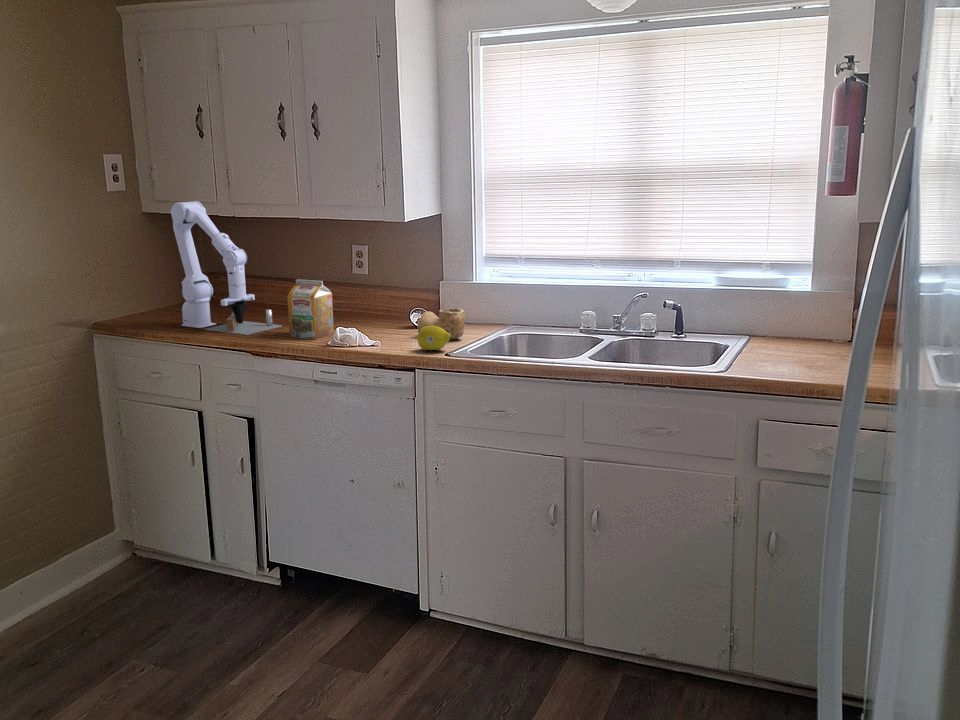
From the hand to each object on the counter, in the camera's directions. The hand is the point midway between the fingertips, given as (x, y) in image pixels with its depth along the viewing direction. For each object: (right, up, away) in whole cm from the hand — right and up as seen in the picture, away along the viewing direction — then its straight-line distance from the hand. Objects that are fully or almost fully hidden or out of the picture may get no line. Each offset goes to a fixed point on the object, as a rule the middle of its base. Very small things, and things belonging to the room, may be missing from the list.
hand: (239, 323), depth 307 cm
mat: (0, -2, +4) cm, 4 cm away
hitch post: (+9, -1, +6) cm, 11 cm away
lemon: (+70, -10, -34) cm, 78 cm away
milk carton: (+27, -5, -10) cm, 29 cm away
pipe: (+72, -6, -15) cm, 74 cm away
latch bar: (-3, -1, +4) cm, 5 cm away
